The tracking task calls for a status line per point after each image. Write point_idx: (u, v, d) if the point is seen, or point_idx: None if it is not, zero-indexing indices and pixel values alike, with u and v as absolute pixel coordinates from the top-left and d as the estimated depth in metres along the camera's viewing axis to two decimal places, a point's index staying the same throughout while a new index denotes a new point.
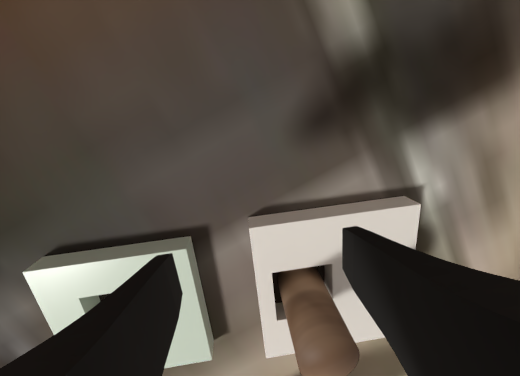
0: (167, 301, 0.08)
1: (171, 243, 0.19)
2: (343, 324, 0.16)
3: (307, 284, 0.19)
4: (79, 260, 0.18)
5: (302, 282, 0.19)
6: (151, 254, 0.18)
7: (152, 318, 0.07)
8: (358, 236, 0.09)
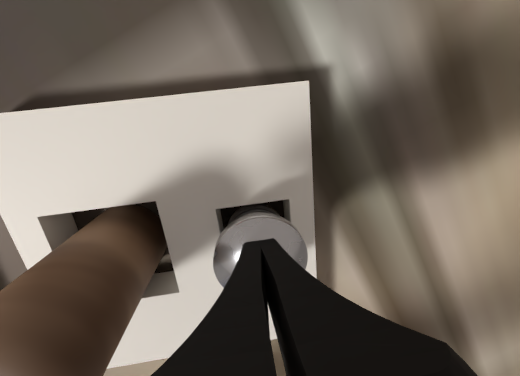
0: (264, 286, 0.09)
1: None
2: (75, 306, 0.07)
3: (86, 234, 0.10)
4: None
5: (83, 231, 0.10)
6: None
7: (264, 300, 0.08)
8: (263, 250, 0.08)
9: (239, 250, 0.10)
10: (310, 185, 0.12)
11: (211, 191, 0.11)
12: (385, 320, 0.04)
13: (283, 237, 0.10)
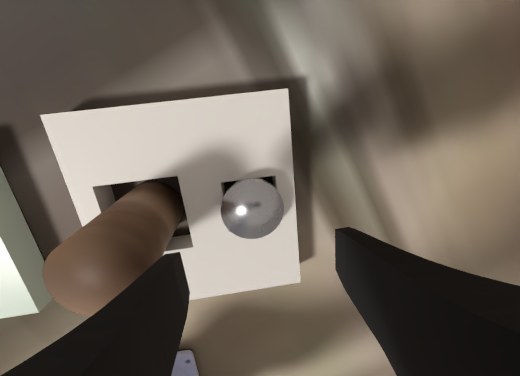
0: (176, 300, 0.08)
1: None
2: (135, 232, 0.11)
3: (130, 197, 0.14)
4: None
5: (127, 196, 0.14)
6: None
7: (162, 316, 0.07)
8: (350, 237, 0.09)
9: (238, 202, 0.15)
10: (291, 165, 0.16)
11: (217, 168, 0.15)
12: None
13: (267, 193, 0.15)
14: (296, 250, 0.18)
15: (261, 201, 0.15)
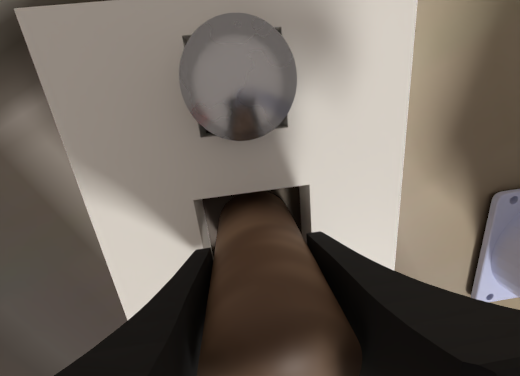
0: None
1: None
2: (220, 294, 0.06)
3: None
4: None
5: None
6: None
7: (202, 310, 0.07)
8: (317, 242, 0.09)
9: (222, 109, 0.08)
10: (159, 0, 0.08)
11: (177, 141, 0.10)
12: (485, 303, 0.04)
13: (204, 50, 0.08)
14: None
15: (220, 63, 0.08)
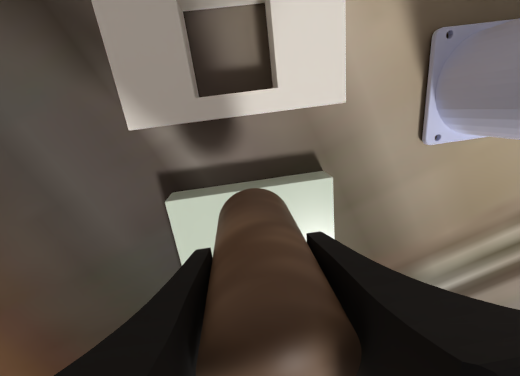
0: None
1: None
2: (219, 290, 0.06)
3: None
4: None
5: None
6: (174, 235, 0.17)
7: (202, 310, 0.07)
8: (317, 242, 0.09)
9: None
10: None
11: None
12: (485, 303, 0.04)
13: None
14: None
15: None
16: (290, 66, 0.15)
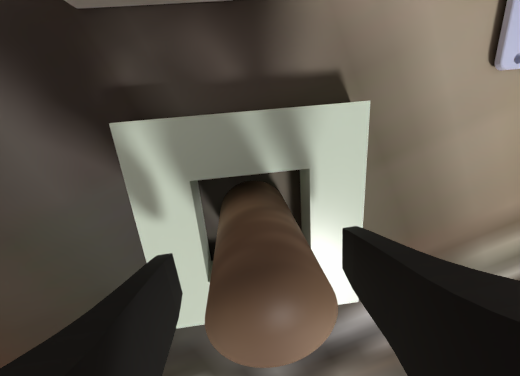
0: (167, 301, 0.08)
1: None
2: (222, 258, 0.08)
3: None
4: None
5: None
6: (126, 180, 0.11)
7: (152, 318, 0.07)
8: (358, 236, 0.09)
9: None
10: None
11: None
12: None
13: None
14: None
15: None
16: None
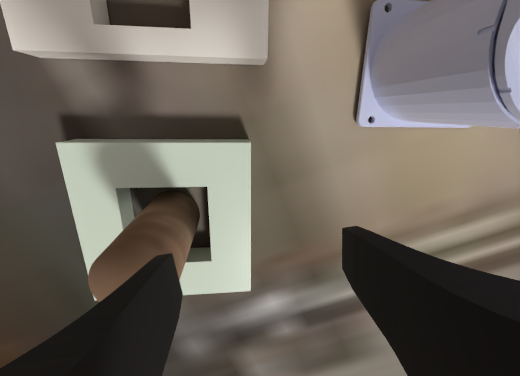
0: (167, 301, 0.08)
1: None
2: (111, 243, 0.12)
3: None
4: None
5: None
6: (67, 183, 0.15)
7: (152, 318, 0.07)
8: (358, 236, 0.09)
9: None
10: None
11: None
12: None
13: None
14: None
15: None
16: (206, 6, 0.13)
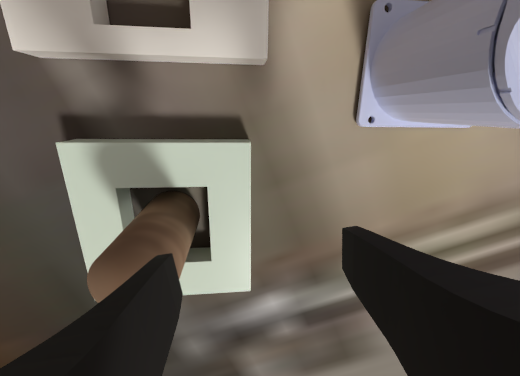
0: (167, 301, 0.08)
1: None
2: (110, 244, 0.12)
3: None
4: None
5: None
6: (67, 183, 0.15)
7: (152, 318, 0.07)
8: (358, 236, 0.09)
9: None
10: None
11: None
12: None
13: None
14: None
15: None
16: (206, 6, 0.13)
